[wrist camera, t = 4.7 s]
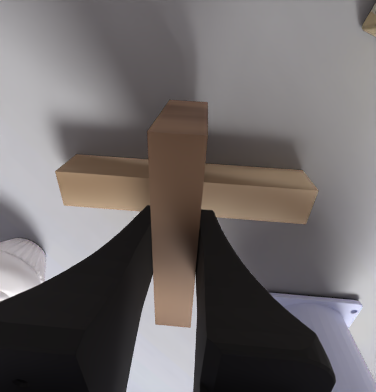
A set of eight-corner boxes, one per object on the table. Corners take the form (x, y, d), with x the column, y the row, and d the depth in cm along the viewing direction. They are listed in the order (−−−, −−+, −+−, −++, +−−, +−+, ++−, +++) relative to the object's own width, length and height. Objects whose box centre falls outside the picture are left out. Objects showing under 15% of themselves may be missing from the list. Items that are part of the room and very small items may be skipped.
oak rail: (292, 200, 16) (305, 224, 14) (82, 185, 16) (64, 205, 14) (302, 170, 15) (318, 190, 13) (76, 154, 15) (55, 171, 13)
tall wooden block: (194, 255, 17) (190, 327, 12) (168, 253, 17) (155, 324, 12) (207, 102, 11) (207, 135, 7) (169, 99, 11) (147, 131, 7)
